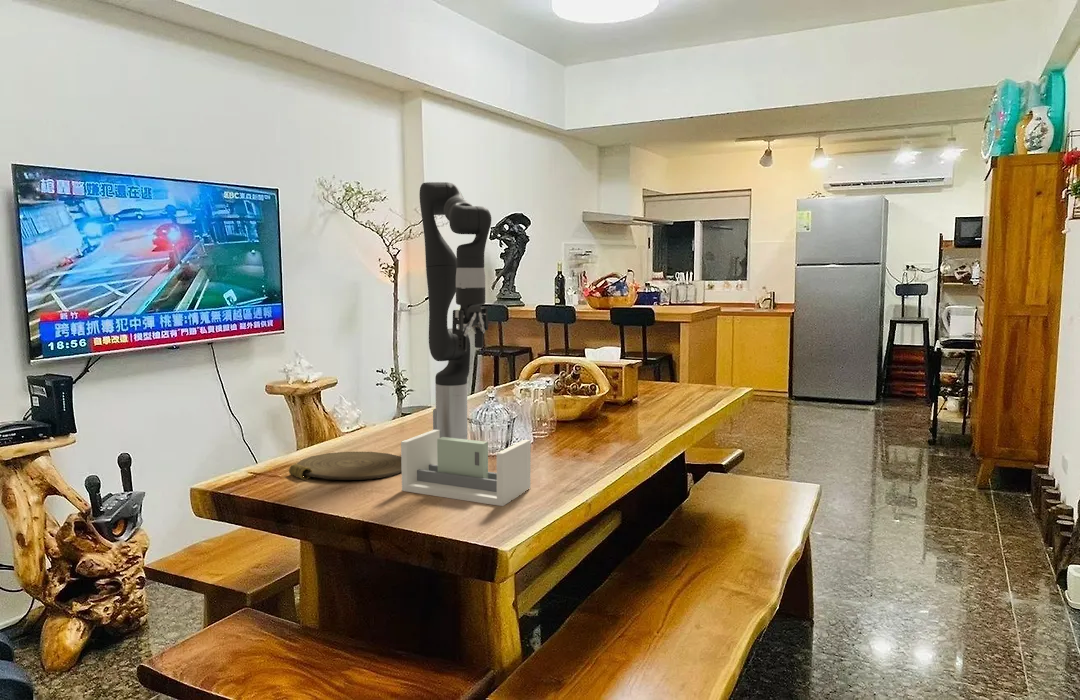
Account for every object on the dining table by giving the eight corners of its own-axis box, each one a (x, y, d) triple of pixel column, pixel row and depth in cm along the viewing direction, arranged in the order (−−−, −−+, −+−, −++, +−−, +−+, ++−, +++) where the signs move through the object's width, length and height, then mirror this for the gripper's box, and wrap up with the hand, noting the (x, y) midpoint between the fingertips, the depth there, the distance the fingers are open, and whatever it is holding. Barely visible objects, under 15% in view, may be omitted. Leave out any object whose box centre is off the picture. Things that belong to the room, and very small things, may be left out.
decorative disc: (433, 460, 191) (330, 479, 169) (433, 473, 191) (330, 493, 169) (368, 442, 210) (268, 456, 188) (368, 453, 211) (268, 469, 189)
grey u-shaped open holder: (401, 490, 171) (401, 441, 169) (434, 475, 183) (434, 429, 182) (502, 506, 160) (502, 453, 159) (530, 488, 173) (530, 440, 171)
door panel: (437, 481, 173) (436, 439, 172) (443, 478, 175) (442, 436, 174) (482, 487, 168) (482, 444, 167) (488, 484, 171) (487, 441, 169)
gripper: (471, 285, 197) (471, 346, 199) (443, 286, 184) (443, 351, 186) (496, 285, 194) (496, 347, 195) (469, 286, 181) (469, 353, 183)
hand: (470, 349), depth 191 cm, fingers open, 8 cm apart
